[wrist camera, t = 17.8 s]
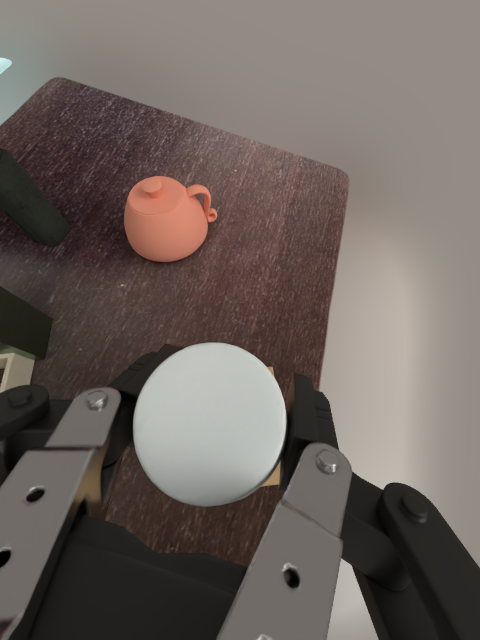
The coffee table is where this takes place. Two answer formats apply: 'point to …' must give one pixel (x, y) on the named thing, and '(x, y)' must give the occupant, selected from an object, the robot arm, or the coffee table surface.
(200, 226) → the sugar bowl
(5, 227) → the coffee table surface
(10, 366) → the dock
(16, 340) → the dispenser
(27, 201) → the candle
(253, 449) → the pill bottle
